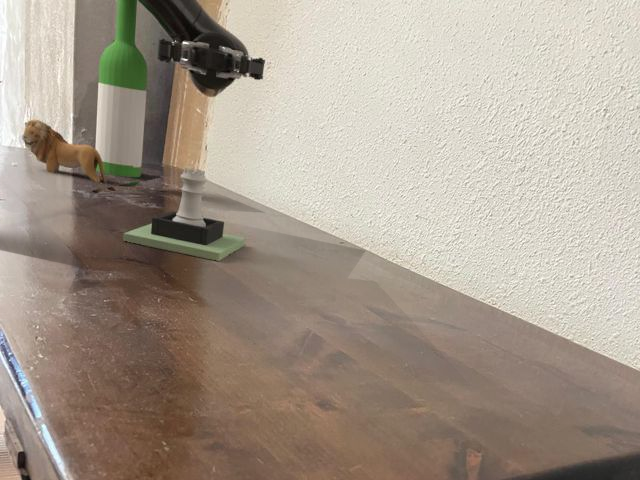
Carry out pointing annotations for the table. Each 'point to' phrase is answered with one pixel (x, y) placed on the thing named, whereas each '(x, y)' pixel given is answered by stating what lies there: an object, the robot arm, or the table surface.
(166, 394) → the table surface
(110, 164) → the wine bottle
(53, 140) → the lion figurine
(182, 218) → the rook chess piece
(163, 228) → the socket pad
